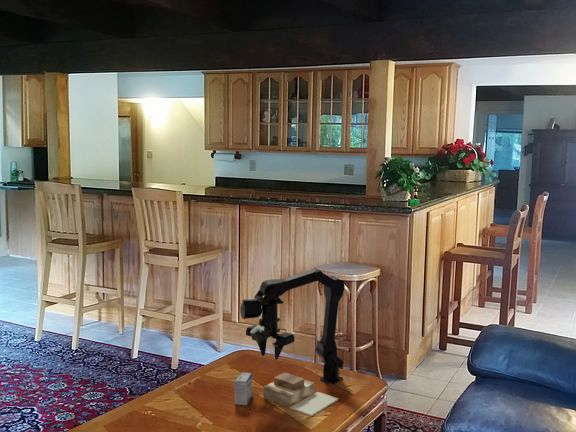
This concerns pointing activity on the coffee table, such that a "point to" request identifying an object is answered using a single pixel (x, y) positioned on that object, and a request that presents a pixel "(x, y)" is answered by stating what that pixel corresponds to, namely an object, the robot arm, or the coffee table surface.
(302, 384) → the walnut tile
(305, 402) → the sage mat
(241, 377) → the medicine box
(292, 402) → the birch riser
